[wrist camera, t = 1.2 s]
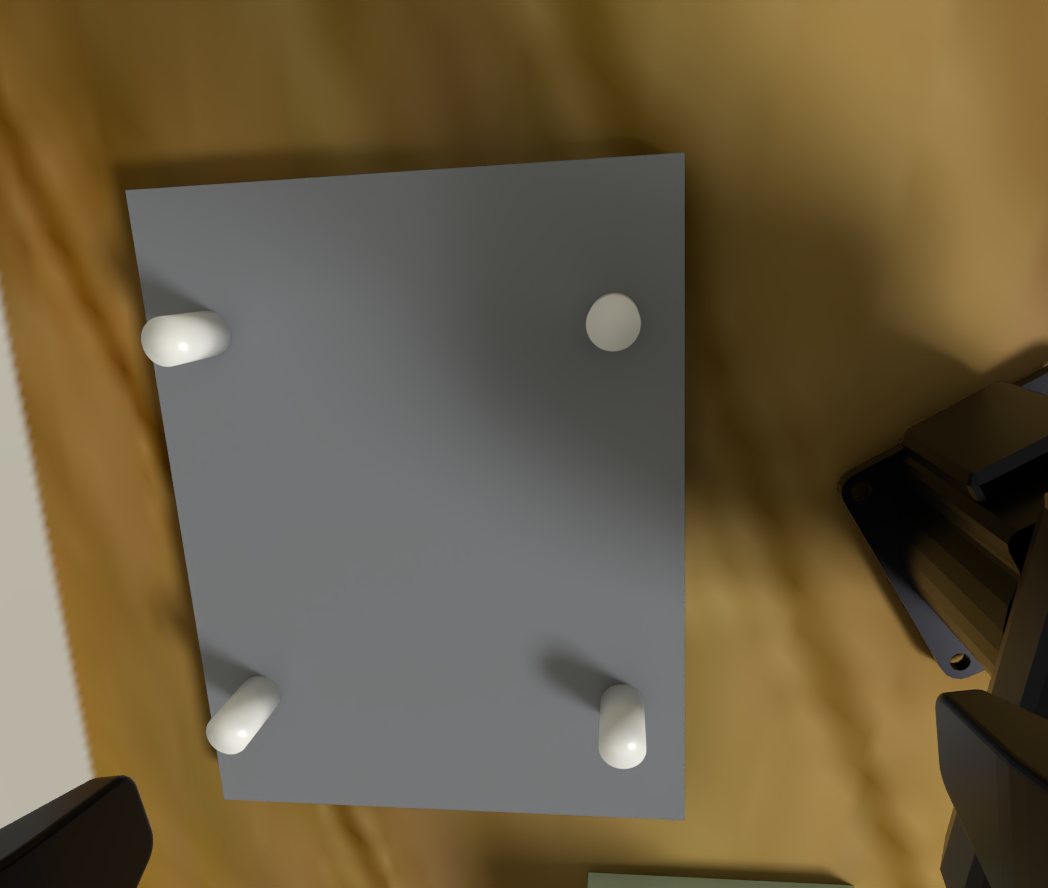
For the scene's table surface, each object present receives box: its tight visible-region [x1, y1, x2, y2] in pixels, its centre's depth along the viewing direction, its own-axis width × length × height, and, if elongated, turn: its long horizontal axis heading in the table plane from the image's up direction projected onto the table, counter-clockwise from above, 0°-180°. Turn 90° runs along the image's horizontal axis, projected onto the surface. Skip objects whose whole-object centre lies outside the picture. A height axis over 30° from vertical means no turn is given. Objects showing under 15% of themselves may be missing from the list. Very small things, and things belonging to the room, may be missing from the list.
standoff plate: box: [125, 152, 685, 820], centre depth 20 cm, size 18×14×3 cm
